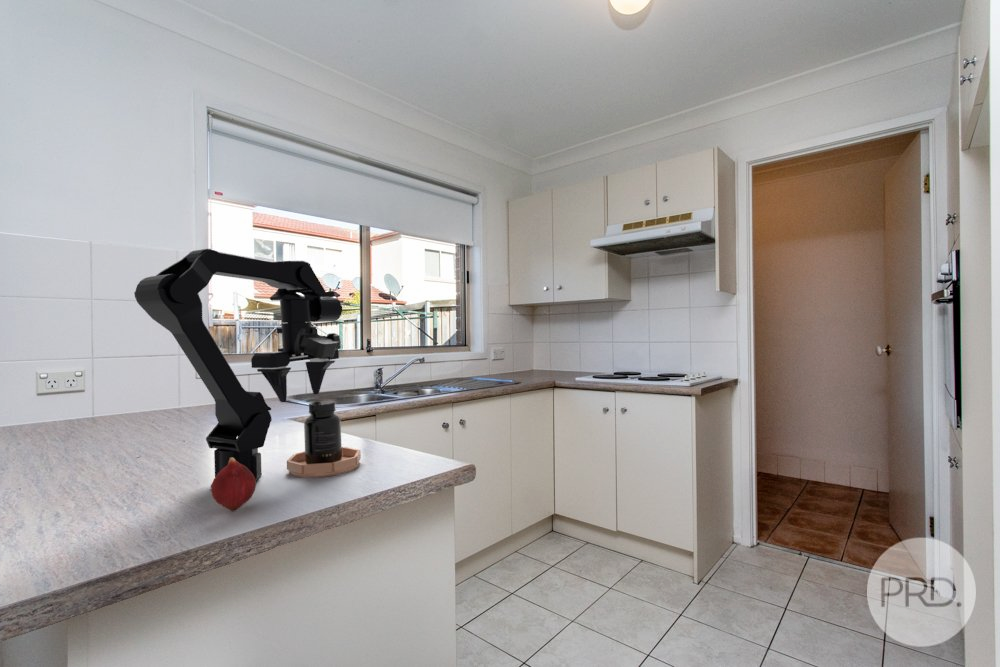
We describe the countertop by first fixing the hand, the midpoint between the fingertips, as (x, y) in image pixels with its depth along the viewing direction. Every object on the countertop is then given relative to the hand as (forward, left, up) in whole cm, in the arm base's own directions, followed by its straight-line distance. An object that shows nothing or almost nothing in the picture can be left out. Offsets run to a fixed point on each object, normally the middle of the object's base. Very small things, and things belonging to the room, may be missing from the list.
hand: (300, 397), depth 98 cm
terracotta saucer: (+6, -6, -13) cm, 16 cm away
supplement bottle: (+5, -5, -13) cm, 15 cm away
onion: (-3, -27, -13) cm, 30 cm away
